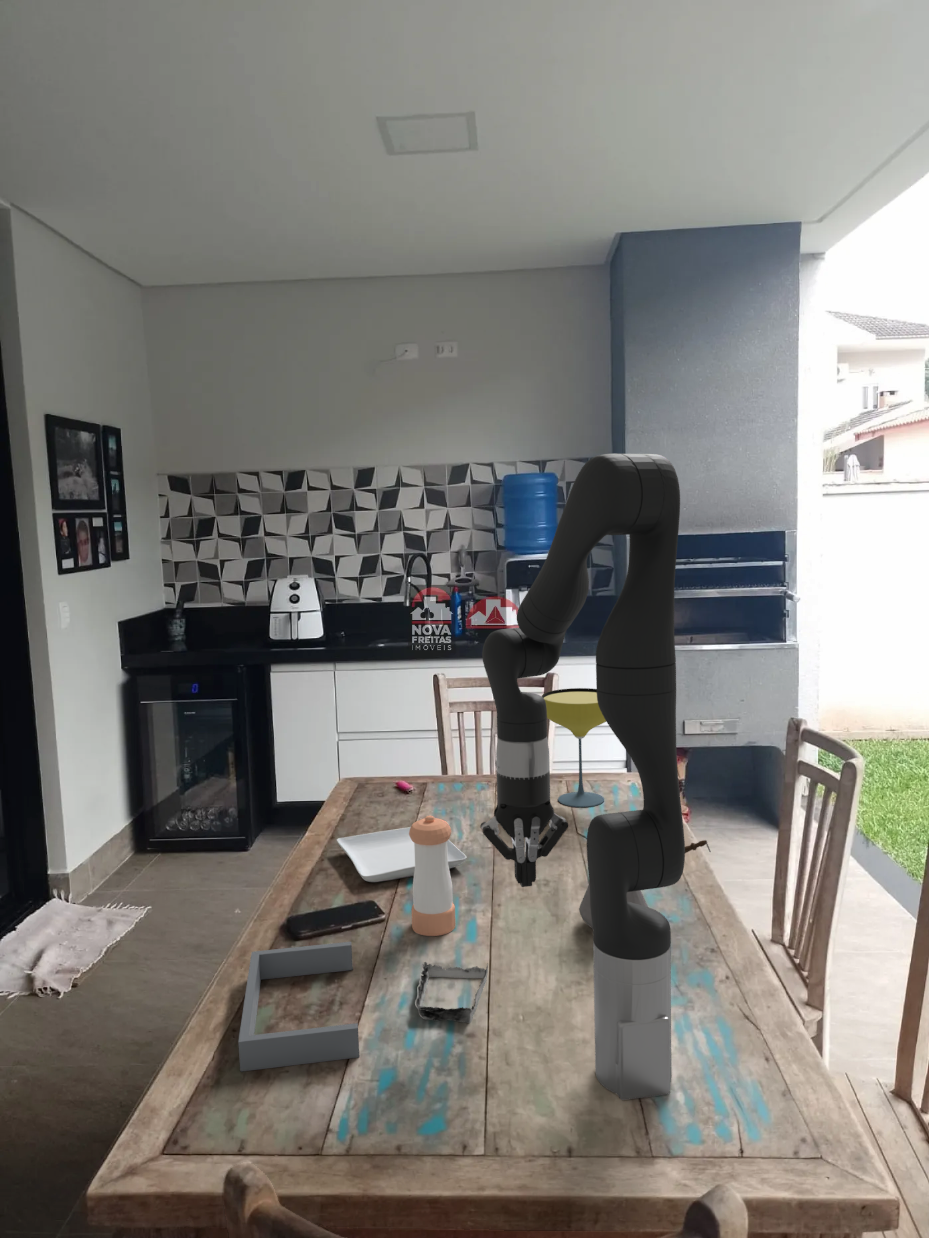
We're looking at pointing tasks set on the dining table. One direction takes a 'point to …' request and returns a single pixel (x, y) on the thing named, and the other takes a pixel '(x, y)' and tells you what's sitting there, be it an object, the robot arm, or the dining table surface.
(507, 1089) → the dining table surface
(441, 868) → the pepper shaker
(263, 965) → the bin
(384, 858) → the salad plate
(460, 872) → the dining table surface
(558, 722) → the cocktail glass
